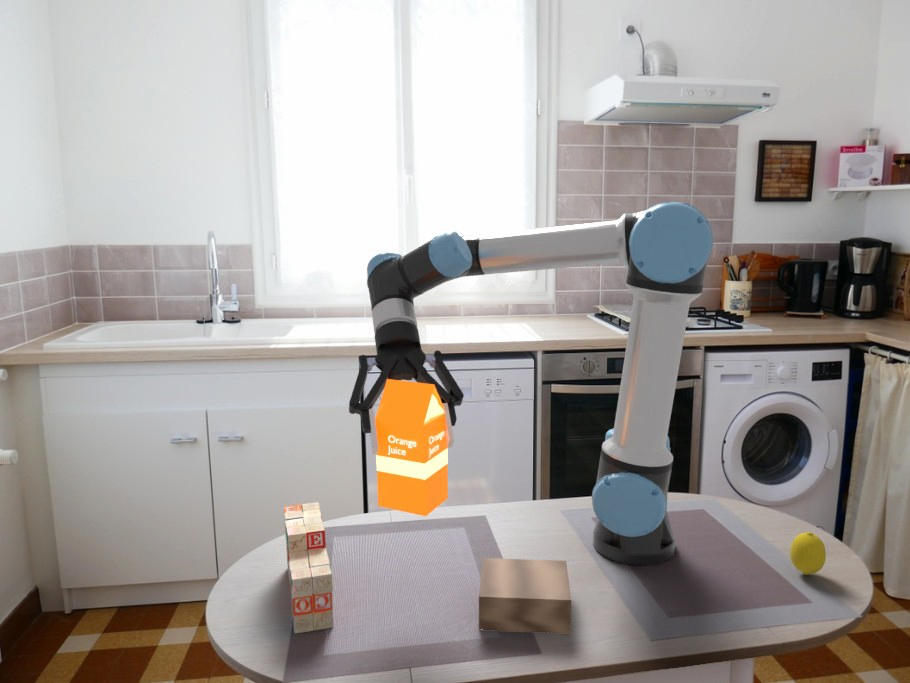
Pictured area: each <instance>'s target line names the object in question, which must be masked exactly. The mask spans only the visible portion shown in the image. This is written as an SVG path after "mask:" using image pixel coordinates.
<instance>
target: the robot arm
mask: <svg viewBox="0 0 910 683" xmlns="http://www.w3.org/2000/svg"><path fill="white" fill-rule="evenodd" d="M713 245H714V237H713V230H712V227H711V224H710V222H709V220H708V219H707V217H706V216H705V215H704V214H703V212H702V211H700V209H698V208H697V207H696V206H693V205H691V204H690V203H687V202H680V201H663V202H660V203H658V204H655V205H653V206H651V207H649V208H648V209H646V210H642V211H636V212H629V213H623V214H622V215H621V216H620V217H619V219H617V220H616V219H615V220H608V221H598V222H589V223H580V224H571V225H562V226H561V225H559V226H553V227H551V226H550V227H542V228H533V229H524V230H515V231H506V232H497V233H494V232H493V233H484V234H481V235H480V234H479V235H461V234H459V233H458V232H457V231H455V230H448V231H446V232H444V233H442V234H440V235H435V236H434V237H432V239H431V240H429V241H427V242H425V243H424V244H422V245H420V246H419V247H417V248H415V249H414V250H412V251H410V252H408V253H407V254H403V255H402V254H400V253H397V252H395V251H394V252H393V251H386V253H382V252H381V253H379V254H376V255H375V256H373V257H372V258H370V260H369V261H368V263H367V267H366V271H367V272H366V274H367V276H366V277H367V279H366V284H367V288H368V294H369V299H370V305H371V306H370V307H371V310H370V311H371V316H372V323H373V325H372V326H373V332H374V342H375V349H376V350H375V351H376V355H375V357H367V355H365V354H362V355H360V356H359V360H358V374H357V376H356V377H357V378H356V380H355V384H354V386H353V389H352V393H351V396H350V399H349V403H348V413H350V415H354V414H357V415H359V416H360V418H361V419H360V420H361V427H362V428H361V429H362V432H363V434H369V437H370V444H371V452H372V453H371V454H372V455H376V454H377V452H378V440H377V432H376V423H375V418H376V414H375V408H373V407H374V405H375V404H376V402H377V400H378V399H379V397H380V395H381V394H383V391H384V388H385V384H386V381H387V379H392V380H400V381H412V380H414V382H415V381H416V382H417V383H425V384H434V385H435V388H436V390H437V393H438V395H439V397H440V400H441V402H442V404H443V407H444V409H445V411H444V413H445V438H446V444H447V448H453V445H454V443H455V442H454V441H455V438H454V436H455V435H454V431H453V427H455V426H456V423H457V414H456V409H455V407H457V406H458V407H459V406H461V405H462V404H463V399H464V397H465V396H464V393H463V391H462V390H461V388H460V386H459V385H458V383H457V382H456V380H455V378H454V377H453V376H452V374H451V372H450V369H448V367H447V366H446V364H445V362H444V360H443V355H442V352H441V351H440V350H435V351H434V352H433V353H429V354H428V353H427V354H426V353H425V352H424V350H422V345H421V338H420V334H419V332H420V331H419V329H418V322H417V316H416V311H415V303H414V299H415V298H416V297H419V296H420V295H423V294H425V293H426V292H428V291H431V290H432V289H435V288H436V287H438V286H440V285H442V284H444V283H447V282H450V281H453V280H456V279H459V278H464V277H474V276H484V275H485V276H486V275H494V274H506V273H519V272H520V273H521V272H529V271H530V272H531V271H533V272H534V271H540V270H541V271H542V270H544V271H545V270H554V269H565V268H566V269H567V268H568V269H569V268H577V267H578V268H581V267H589V266H590V267H592V266H593V267H594V266H603V265H614V264H616V265H618V264H622V265H623V266H624V267H625V268H627V275H626V282H625V285H626V288H627V289H628V290H629V291H630V292H631V294H632V296H633V301H632V307H631V314H630V320H629V326H628V333H627V341H626V347H625V353H624V360H623V367H622V374H621V380H620V387H619V393H618V400H617V404H616V405H617V406H616V411H615V420H614V425H613V428H611V429H608V431H607V432H605V439H604V441H603V442H602V444H601V451H600V457H599V463H598V469H597V477H596V480H595V481H596V483H595V485H594V487H593V489H592V490H591V491H592V493H591V504H592V509H593V512H594V514H595V516H596V518H597V520H596V523H595V526H594V527H593V532H592V534H593V535H592V545H593V547H594V549H595V550H596V551H597V552H598V553H599V554H601V555H602V556H604V557H606V558H608V559H609V560H612V561H615V562H618V563H622V564H627V565H635V566H649V565H650V566H651V565H657V564H662V563H665V562H666V561H668V560H670V559H671V558H672V557H673V556H674V554H675V551H676V550H675V547H676V539H675V536H674V531H673V528H672V525H671V522H670V518H669V515H668V492H669V486H670V480H671V476H672V467H673V462H674V456H673V453H671V447H670V446H671V445H670V444H671V443H670V438H669V435H668V434H669V429H670V428H669V427H670V421H671V415H672V411H673V404H674V399H675V393H676V388H677V387H676V386H677V382H678V374H679V369H680V365H681V364H680V363H681V357H682V352H683V345H684V338H685V335H686V334H685V333H686V327H687V323H688V316H689V310H690V305H691V303H692V302H693V301H695V300H696V299H698V298H699V297H700V296H701V295H702V293H703V289H704V283H705V279H706V278H705V277H706V271H707V266H708V261H709V258H710V256H711V255H712V251H713ZM425 363H426V364H428V365H429V366H430V368H431V369H434V372H435V374H436V376H437V378H438V379H439V381H440V382H441V384H442V385H441V384H440V383H439V382H438V381H437V380H436V379H435V378H434V377H433V376H432V375H431V374H430V373H429V372H428V371H427V368H426V367H425V366H424V364H425ZM375 366H376V368H377V369H378V370H379V371H380V373H379V376H378V377H377V379H376V381H375V382H374V384H373V386H372V387H371V389H370V390H369V392H368V393H367V395H366V397H365V398H364V400H363V402H360V401H361V398H362V394H363V391H364V388H365V384H366V381H367V377H368V373H369V372H371V371H372V370H373V367H375Z"/></svg>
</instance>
